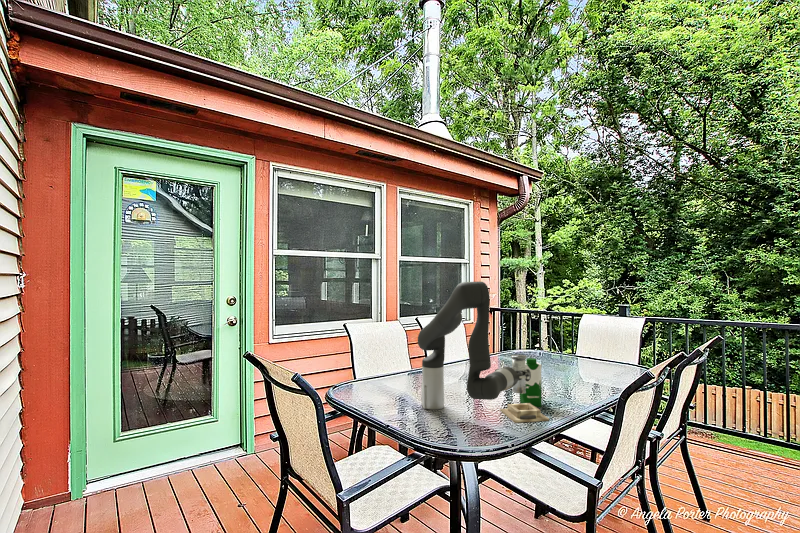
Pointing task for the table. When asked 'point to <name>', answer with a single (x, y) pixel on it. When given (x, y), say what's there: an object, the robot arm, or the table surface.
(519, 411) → the socket mount
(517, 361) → the metal canister
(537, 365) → the milk carton
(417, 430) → the table surface
